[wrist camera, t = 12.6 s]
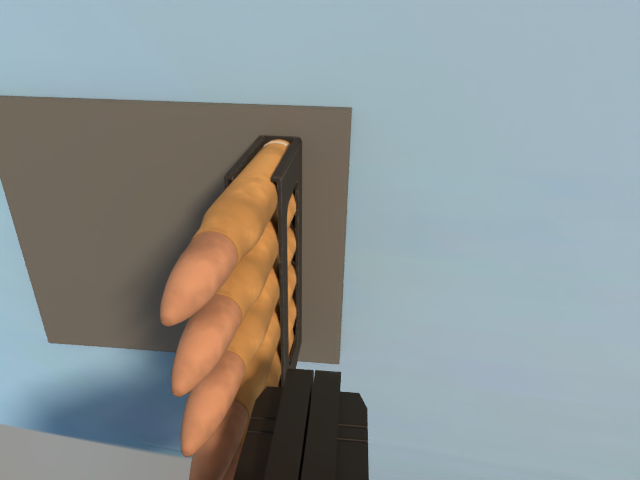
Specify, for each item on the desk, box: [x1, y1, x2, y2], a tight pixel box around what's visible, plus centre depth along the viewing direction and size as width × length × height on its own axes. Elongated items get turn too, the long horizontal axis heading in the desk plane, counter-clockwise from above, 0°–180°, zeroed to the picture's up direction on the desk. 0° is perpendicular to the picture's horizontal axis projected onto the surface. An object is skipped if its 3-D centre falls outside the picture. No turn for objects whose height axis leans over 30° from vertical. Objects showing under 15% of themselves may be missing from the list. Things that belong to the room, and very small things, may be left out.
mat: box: [0, 96, 352, 364], centre depth 22 cm, size 16×13×1 cm
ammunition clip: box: [160, 135, 302, 480], centre depth 16 cm, size 11×2×12 cm, turn 179°
